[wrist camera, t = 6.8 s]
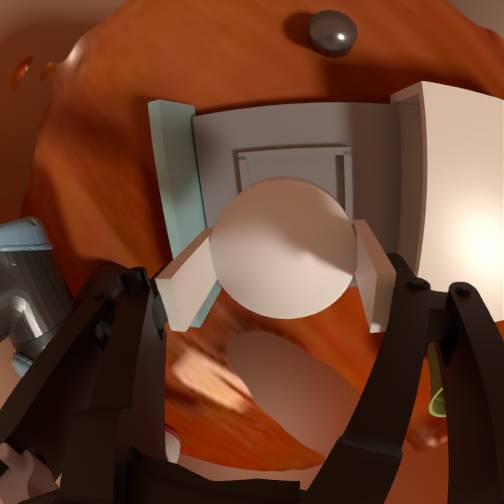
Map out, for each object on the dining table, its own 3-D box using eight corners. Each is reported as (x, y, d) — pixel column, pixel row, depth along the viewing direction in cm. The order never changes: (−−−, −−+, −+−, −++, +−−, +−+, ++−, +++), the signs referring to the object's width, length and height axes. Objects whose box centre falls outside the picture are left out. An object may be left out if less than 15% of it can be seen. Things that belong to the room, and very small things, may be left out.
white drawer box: (386, 285, 34) (405, 332, 25) (389, 95, 25) (421, 80, 16) (496, 278, 29) (528, 314, 20) (512, 118, 20) (558, 122, 11)
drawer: (213, 289, 39) (190, 326, 31) (185, 107, 29) (147, 102, 22) (387, 288, 33) (403, 328, 26) (391, 93, 24) (418, 80, 16)
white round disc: (230, 300, 19) (223, 317, 17) (210, 183, 16) (198, 189, 14) (350, 298, 17) (353, 316, 15) (350, 173, 14) (357, 178, 12)
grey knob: (312, 57, 25) (312, 49, 22) (306, 22, 23) (305, 10, 20) (355, 58, 24) (360, 49, 20) (348, 22, 22) (352, 11, 19)
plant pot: (401, 347, 37) (416, 401, 27) (460, 301, 32) (490, 350, 22) (429, 377, 39) (442, 425, 29) (480, 339, 34) (503, 384, 24)
